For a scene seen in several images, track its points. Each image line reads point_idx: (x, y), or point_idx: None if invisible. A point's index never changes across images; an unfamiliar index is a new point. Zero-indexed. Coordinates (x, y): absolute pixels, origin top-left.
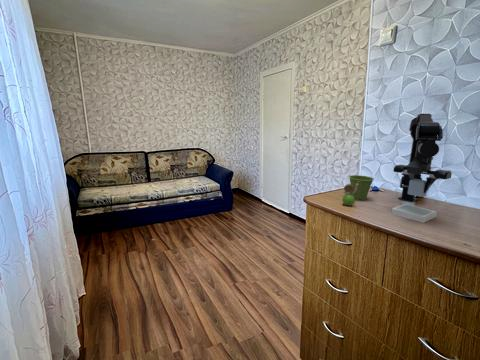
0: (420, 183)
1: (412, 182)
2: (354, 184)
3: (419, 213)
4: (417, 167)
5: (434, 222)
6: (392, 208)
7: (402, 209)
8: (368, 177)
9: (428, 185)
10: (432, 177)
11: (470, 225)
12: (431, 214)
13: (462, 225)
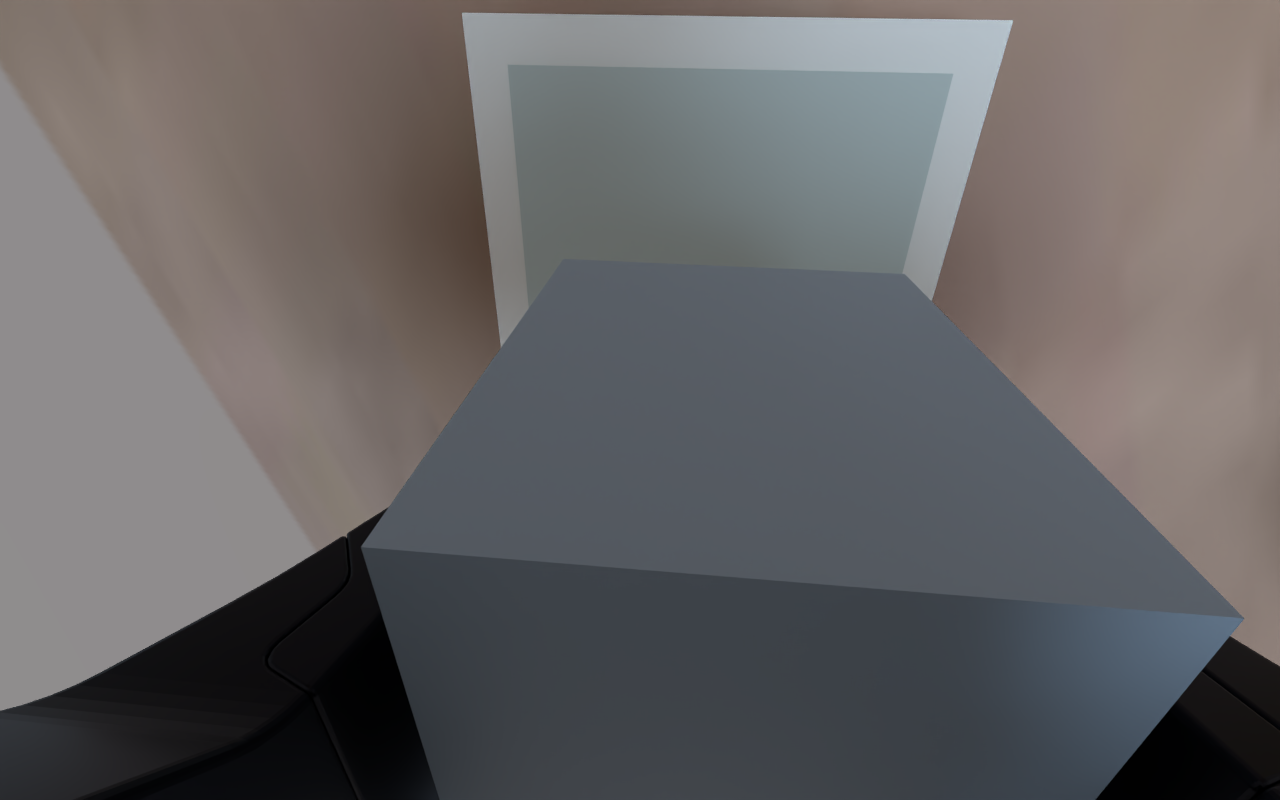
0: (551, 493)
1: (973, 503)
2: None
3: (581, 128)
4: None
5: (444, 191)
6: (1010, 21)
7: (843, 107)
8: None
9: (321, 559)
10: None
11: (256, 408)
12: (497, 290)
13: (277, 348)
